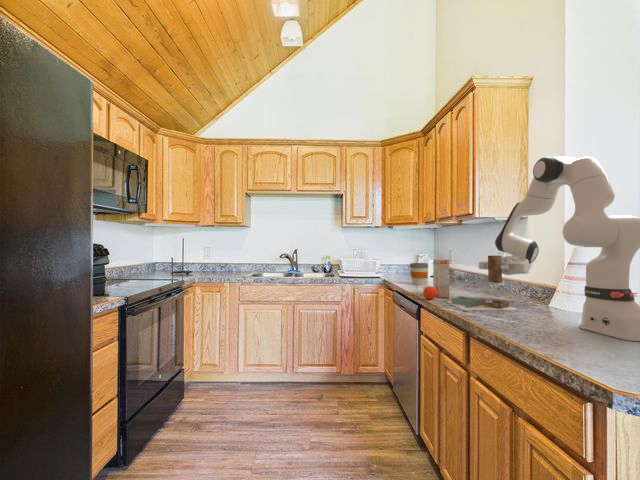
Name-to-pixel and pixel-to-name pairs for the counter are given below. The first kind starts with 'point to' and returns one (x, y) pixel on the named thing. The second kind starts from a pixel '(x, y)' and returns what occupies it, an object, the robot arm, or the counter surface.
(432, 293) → the clementine
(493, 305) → the keeper
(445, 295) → the cracker box
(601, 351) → the counter surface
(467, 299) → the index socket
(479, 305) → the jamb board
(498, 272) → the stop bar
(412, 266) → the reusable coffee cup
